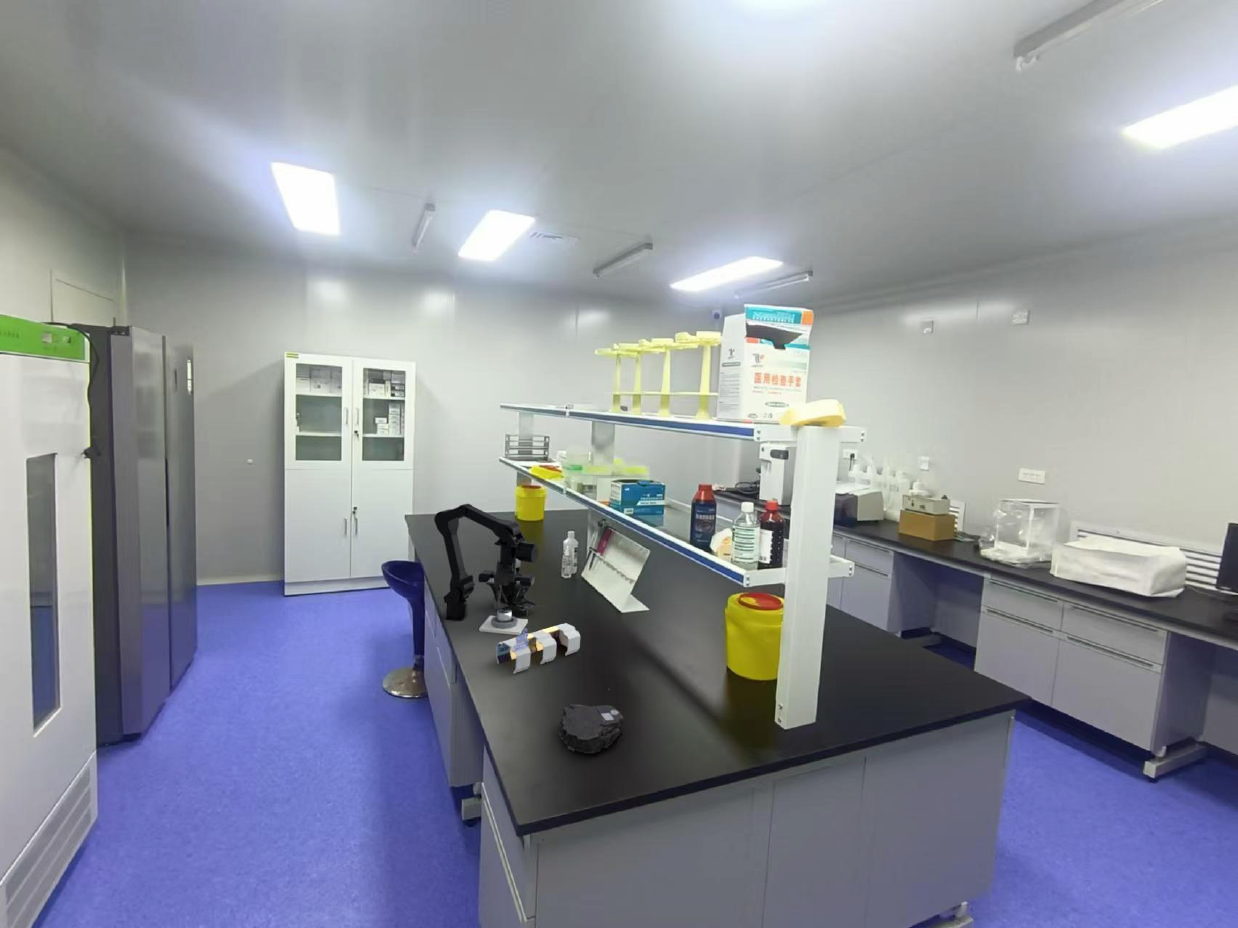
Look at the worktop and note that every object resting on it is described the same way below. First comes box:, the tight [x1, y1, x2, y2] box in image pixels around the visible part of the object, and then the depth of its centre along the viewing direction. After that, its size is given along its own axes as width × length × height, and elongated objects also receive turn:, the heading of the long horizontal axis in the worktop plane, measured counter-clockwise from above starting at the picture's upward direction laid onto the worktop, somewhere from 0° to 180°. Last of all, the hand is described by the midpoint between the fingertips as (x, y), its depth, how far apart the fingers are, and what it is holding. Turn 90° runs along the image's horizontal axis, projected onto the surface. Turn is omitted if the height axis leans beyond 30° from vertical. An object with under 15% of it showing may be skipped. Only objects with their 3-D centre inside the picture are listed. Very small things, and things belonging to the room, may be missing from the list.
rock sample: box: [558, 703, 625, 754], centre depth 135 cm, size 18×16×5 cm
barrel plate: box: [479, 615, 529, 636], centre depth 197 cm, size 14×12×2 cm
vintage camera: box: [493, 559, 538, 616], centre depth 212 cm, size 10×16×20 cm, turn 53°
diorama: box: [495, 622, 581, 674], centre depth 174 cm, size 25×10×13 cm, turn 136°
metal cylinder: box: [496, 607, 513, 623], centre depth 196 cm, size 5×5×5 cm
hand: (505, 601), depth 196 cm, fingers open, 6 cm apart
